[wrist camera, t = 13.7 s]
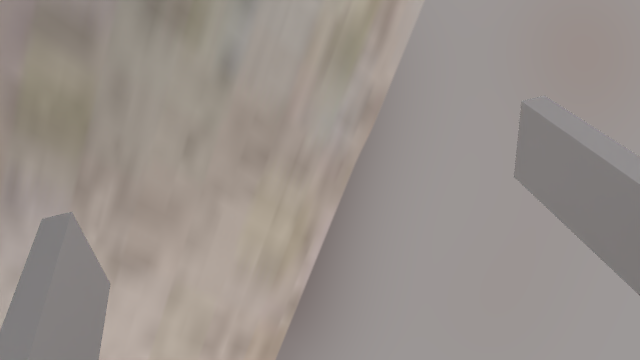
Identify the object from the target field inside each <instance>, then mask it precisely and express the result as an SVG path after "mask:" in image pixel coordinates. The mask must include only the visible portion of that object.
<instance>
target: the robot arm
mask: <svg viewBox="0 0 640 360" xmlns="http://www.w3.org/2000/svg"><path fill="white" fill-rule="evenodd" d="M514 177H515V178H516V179H517V180H518V181H519V182H520V183H521V184H522V185H523V186H524V187H525V188H526V189H527V190H528V191H529V192H530V193H531V194H533V195H534V196H535V197H536V198H537V199H538V200H539V201H540V202H541V203H542V204H543V205H544V206H545V207H546V208H547V209H548V210H550V211H551V212H552V213H553V214H554V215H555V216H556V217H557V218H558V219H559V220H560V221H561V222H562V223H563V224H564V225H565V226H567V227H568V228H569V229H570V230H571V231H572V232H573V233H574V234H575V235H576V236H577V237H578V238H579V239H580V240H581V241H582V242H583V243H585V244H586V245H587V246H588V247H589V248H590V249H591V250H592V251H593V252H594V253H595V254H596V255H597V256H598V257H599V258H600V259H601V260H602V261H604V262H605V263H606V264H607V265H608V266H609V267H610V268H611V269H612V270H613V271H614V272H615V273H616V274H617V275H618V276H619V277H621V278H622V279H623V280H624V281H625V282H626V283H627V284H628V285H629V286H630V287H631V288H632V289H633V290H634V291H635V292H636V293H638V294H639V295H640V156H638V155H637V154H635V153H634V152H632V151H630V150H629V149H627V148H626V147H624V146H623V145H621V144H619V143H618V142H616V141H615V140H613V139H612V138H610V137H609V136H607V135H605V134H604V133H602V132H601V131H599V130H598V129H596V128H594V127H593V126H591V125H590V124H588V123H587V122H585V121H584V120H582V119H581V118H579V117H578V116H576V115H574V114H573V113H571V112H570V111H568V110H567V109H565V108H564V107H562V106H560V105H559V104H557V103H556V102H554V101H552V100H551V99H550V98H548V97H546V96H541V97H537V98H533V99H529V100H525V101H522V102H521V112H520V122H519V131H518V141H517V151H516V161H515V172H514ZM109 289H110V282H109V280H108V279H107V277H106V275H105V273H104V271H103V269H102V267H101V265H100V264H99V262H98V260H97V258H96V256H95V254H94V252H93V251H92V249H91V247H90V245H89V243H88V241H87V239H86V237H85V236H84V234H83V232H82V230H81V228H80V226H79V224H78V222H77V221H76V219H75V217H74V215H73V213H72V212H69V213H65V214H61V215H57V216H52V217H48V218H44V219H42V221H41V224H40V226H39V229H38V232H37V234H36V237H35V240H34V242H33V245H32V248H31V250H30V253H29V256H28V258H27V261H26V264H25V267H24V269H23V272H22V275H21V277H20V280H19V283H18V285H17V288H16V291H15V293H14V296H13V299H12V301H11V304H10V307H9V309H8V312H7V315H6V317H5V320H4V323H3V325H2V328H1V331H0V360H98V359H99V353H100V347H101V340H102V334H103V327H104V321H105V315H106V308H107V302H108V295H109Z"/></svg>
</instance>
